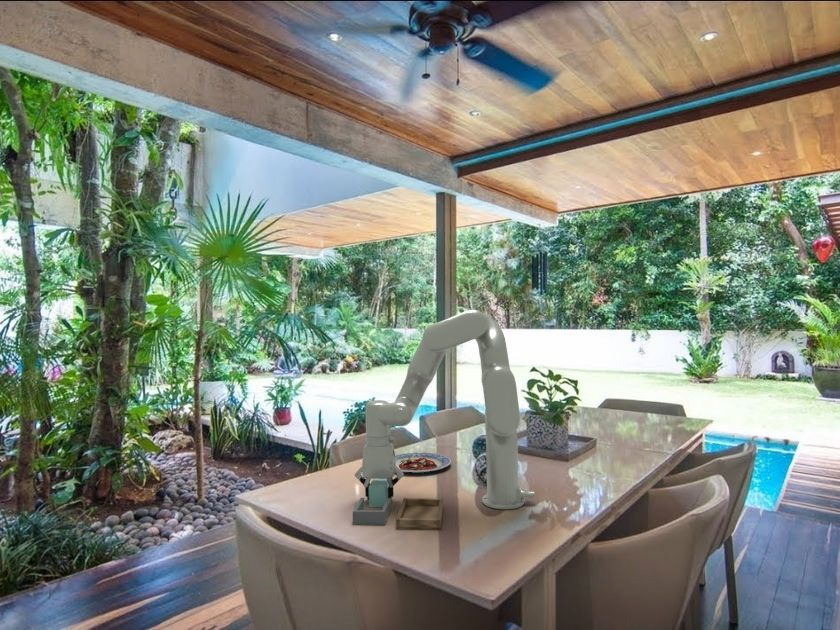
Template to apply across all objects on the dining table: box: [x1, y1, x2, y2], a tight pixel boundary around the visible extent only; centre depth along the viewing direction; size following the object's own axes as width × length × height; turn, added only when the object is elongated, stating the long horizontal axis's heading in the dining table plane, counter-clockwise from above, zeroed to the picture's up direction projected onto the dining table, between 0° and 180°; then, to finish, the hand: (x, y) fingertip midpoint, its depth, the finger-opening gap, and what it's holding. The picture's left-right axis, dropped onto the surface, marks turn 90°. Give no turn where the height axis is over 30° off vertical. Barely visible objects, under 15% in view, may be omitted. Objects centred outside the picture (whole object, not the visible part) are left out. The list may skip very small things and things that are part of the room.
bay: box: [352, 497, 392, 526], centre depth 147 cm, size 9×11×4 cm
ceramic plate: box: [395, 452, 452, 474], centre depth 197 cm, size 26×26×3 cm
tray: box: [395, 497, 444, 531], centre depth 146 cm, size 12×16×2 cm
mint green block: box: [368, 479, 389, 508], centre depth 161 cm, size 5×12×6 cm, turn 175°
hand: (379, 498), depth 159 cm, fingers open, 5 cm apart
